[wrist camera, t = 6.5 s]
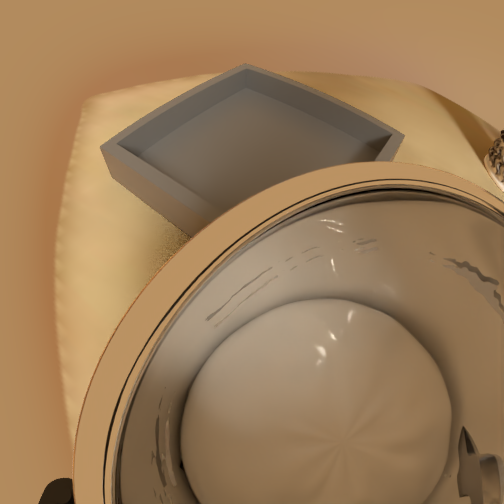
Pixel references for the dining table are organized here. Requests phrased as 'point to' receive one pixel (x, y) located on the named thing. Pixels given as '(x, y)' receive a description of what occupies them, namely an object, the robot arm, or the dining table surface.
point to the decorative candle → (496, 161)
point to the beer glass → (309, 350)
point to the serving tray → (239, 144)
